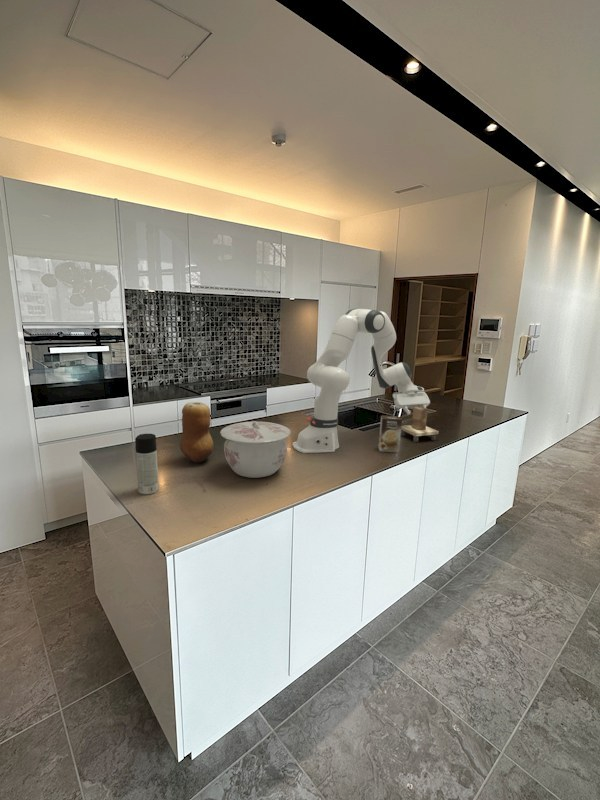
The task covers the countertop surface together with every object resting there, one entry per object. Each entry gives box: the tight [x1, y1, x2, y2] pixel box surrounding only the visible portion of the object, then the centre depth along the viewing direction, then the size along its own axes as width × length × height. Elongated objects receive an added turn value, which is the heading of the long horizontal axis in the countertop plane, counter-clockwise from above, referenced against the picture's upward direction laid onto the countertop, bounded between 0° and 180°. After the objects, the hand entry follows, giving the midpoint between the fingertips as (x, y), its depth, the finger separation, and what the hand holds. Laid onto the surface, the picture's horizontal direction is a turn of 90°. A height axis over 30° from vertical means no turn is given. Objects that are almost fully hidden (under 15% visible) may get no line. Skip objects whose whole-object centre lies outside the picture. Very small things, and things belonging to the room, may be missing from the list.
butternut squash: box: [179, 401, 214, 464], centre depth 160 cm, size 14×13×25 cm
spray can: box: [134, 433, 160, 495], centre depth 132 cm, size 7×7×20 cm
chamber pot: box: [219, 420, 292, 479], centre depth 152 cm, size 28×28×21 cm
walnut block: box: [411, 407, 428, 430], centre depth 201 cm, size 5×5×11 cm
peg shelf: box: [400, 424, 439, 443], centre depth 202 cm, size 14×14×5 cm
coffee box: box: [377, 414, 403, 453], centre depth 181 cm, size 9×6×16 cm
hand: (417, 413), depth 202 cm, fingers open, 8 cm apart
